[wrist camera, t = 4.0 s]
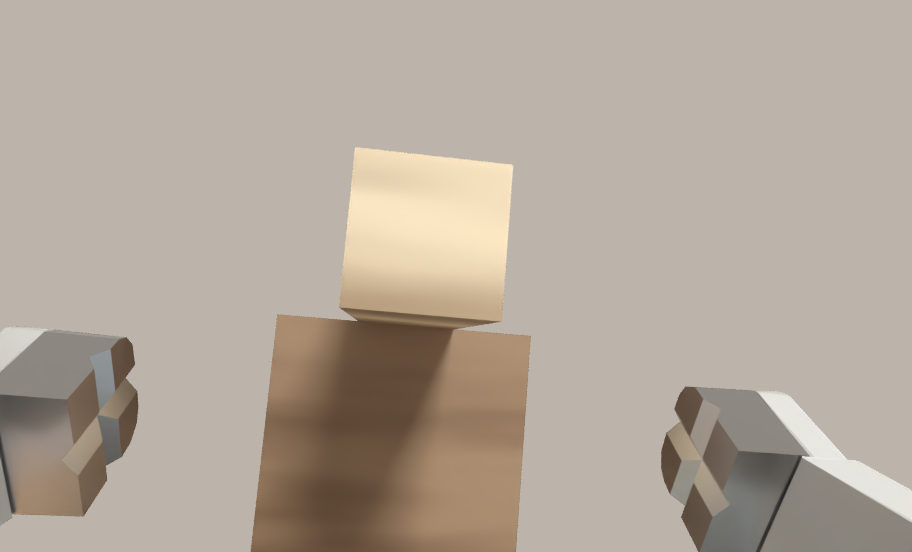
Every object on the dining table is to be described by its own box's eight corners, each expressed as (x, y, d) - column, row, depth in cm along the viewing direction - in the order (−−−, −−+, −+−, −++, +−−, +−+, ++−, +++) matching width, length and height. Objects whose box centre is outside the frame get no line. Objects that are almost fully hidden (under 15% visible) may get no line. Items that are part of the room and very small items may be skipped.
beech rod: (501, 321, 12) (512, 165, 12) (338, 307, 12) (355, 147, 12) (429, 333, 32) (434, 273, 32) (368, 328, 31) (374, 267, 32)
